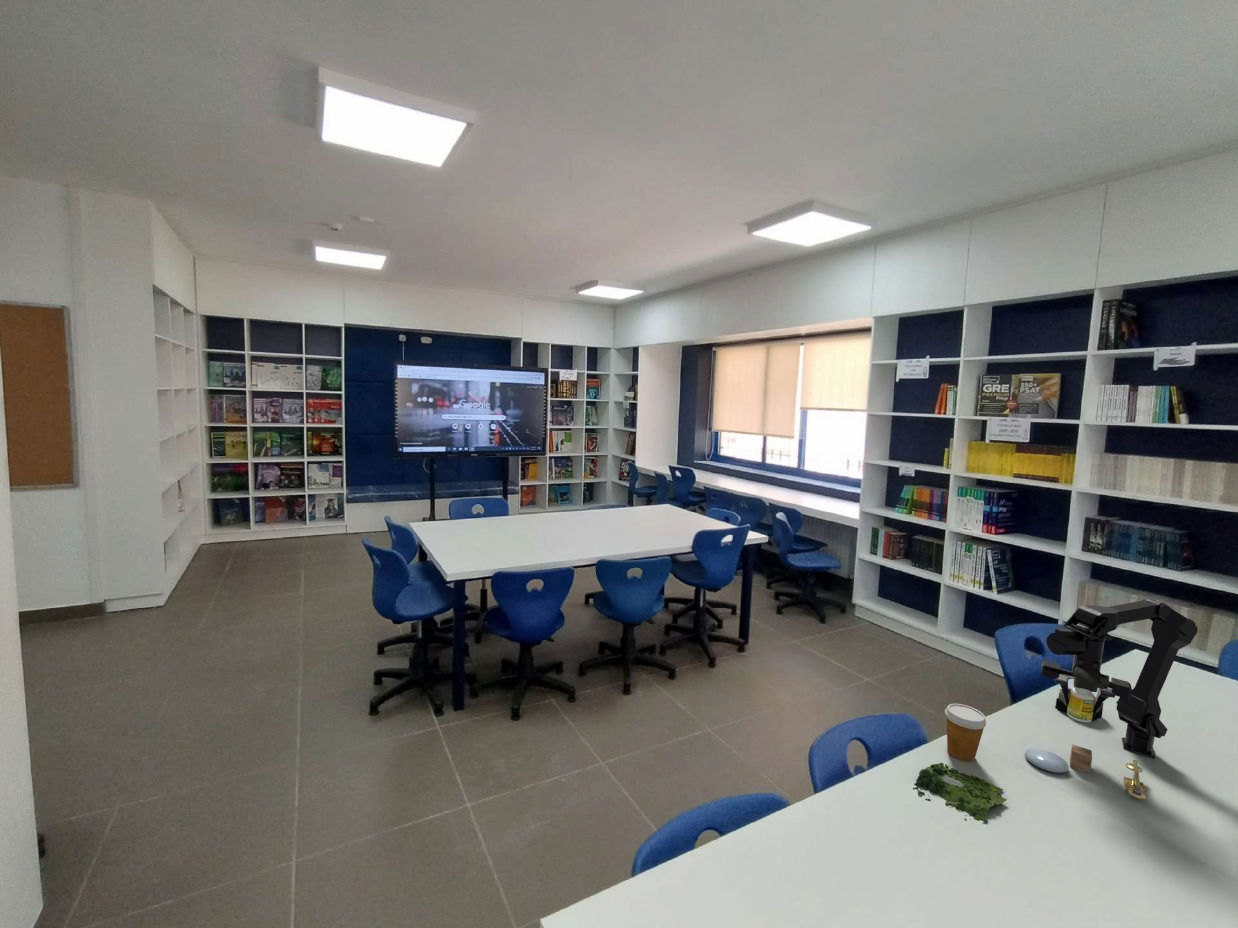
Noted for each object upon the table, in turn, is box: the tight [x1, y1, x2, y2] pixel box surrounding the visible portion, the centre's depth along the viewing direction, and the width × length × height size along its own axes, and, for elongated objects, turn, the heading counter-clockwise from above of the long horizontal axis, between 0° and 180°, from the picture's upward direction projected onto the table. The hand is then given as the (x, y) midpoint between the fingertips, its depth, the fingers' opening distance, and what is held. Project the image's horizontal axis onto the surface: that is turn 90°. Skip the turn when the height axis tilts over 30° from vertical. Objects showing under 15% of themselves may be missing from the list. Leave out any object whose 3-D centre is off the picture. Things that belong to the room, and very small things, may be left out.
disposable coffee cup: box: [944, 703, 987, 763], centre depth 150 cm, size 10×10×12 cm
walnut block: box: [1069, 743, 1093, 774], centre depth 148 cm, size 4×4×4 cm
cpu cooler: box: [1054, 687, 1104, 724], centre depth 175 cm, size 10×6×10 cm
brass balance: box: [1123, 759, 1147, 800], centre depth 140 cm, size 13×4×5 cm, turn 142°
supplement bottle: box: [1066, 685, 1096, 723], centre depth 153 cm, size 5×5×10 cm
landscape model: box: [912, 762, 1007, 824], centre depth 135 cm, size 17×21×5 cm
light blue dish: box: [1024, 747, 1069, 774], centre depth 148 cm, size 9×9×2 cm
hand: (1080, 708), depth 153 cm, fingers closed on supplement bottle, 5 cm apart
